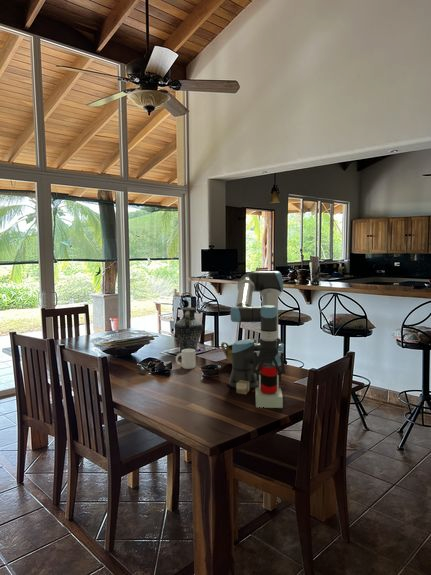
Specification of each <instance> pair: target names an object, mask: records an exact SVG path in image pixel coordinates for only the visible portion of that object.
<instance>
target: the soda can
mask: <svg viewBox="0 0 431 575" xmlns="http://www.w3.org/2000/svg"><path fill="white" fill-rule="evenodd" d="M260 373H261V392H263V393H266V394H272V393H275V392H276V391H277V373H278V371H277V369H276V366H275V365H272V364H265V365H263V366H262V368H261V370H260Z"/></svg>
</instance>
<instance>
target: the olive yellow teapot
mask: <svg viewBox="0 0 431 575" xmlns="http://www.w3.org/2000/svg"><path fill="white" fill-rule="evenodd" d="M250 340H254V342H255V343H257V340H256V339H255V338H250ZM233 344H234V343H232V344H229V343H227V342H225V341H224V342H221V344H220V346H221V349H222V351H223V353H224V355H225V358H226V360H227V361H228V362H229V363H230V364H231V365H232V346H233ZM225 346H226V348H225Z"/></svg>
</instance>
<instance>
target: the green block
mask: <svg viewBox="0 0 431 575" xmlns="http://www.w3.org/2000/svg"><path fill="white" fill-rule="evenodd" d="M283 402H284V399H283V392H282V387H279V389H277V391H276V392H275V393H272V394H266V393H263V392H261V388H259V387H255V408H259V407H260V408H263V407H264V408H265V409H266V408H267V409H268V408H269V409H274V408H275V409H276V408H277V409H283V407H284V406H283V405H284V404H283ZM260 408H259V409H260Z"/></svg>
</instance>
